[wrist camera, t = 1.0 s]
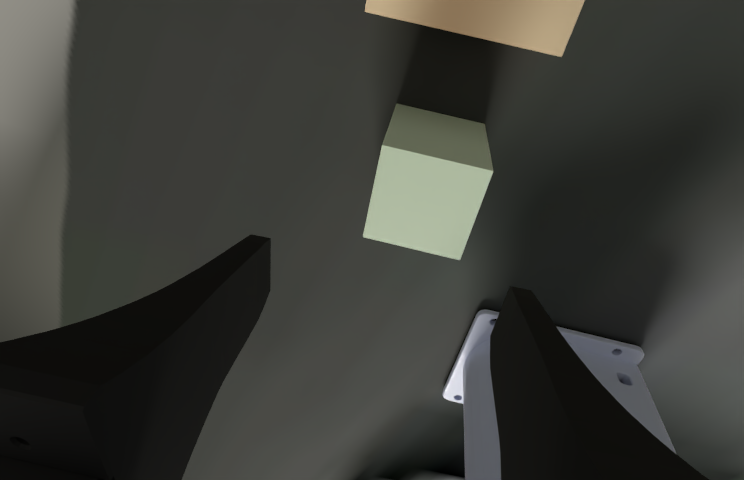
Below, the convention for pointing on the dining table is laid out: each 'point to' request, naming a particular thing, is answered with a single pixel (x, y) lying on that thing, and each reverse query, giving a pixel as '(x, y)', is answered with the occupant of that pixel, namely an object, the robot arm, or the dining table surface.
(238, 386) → the dining table surface
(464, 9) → the oak block
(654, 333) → the dining table surface
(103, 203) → the dining table surface
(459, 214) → the sage cube
